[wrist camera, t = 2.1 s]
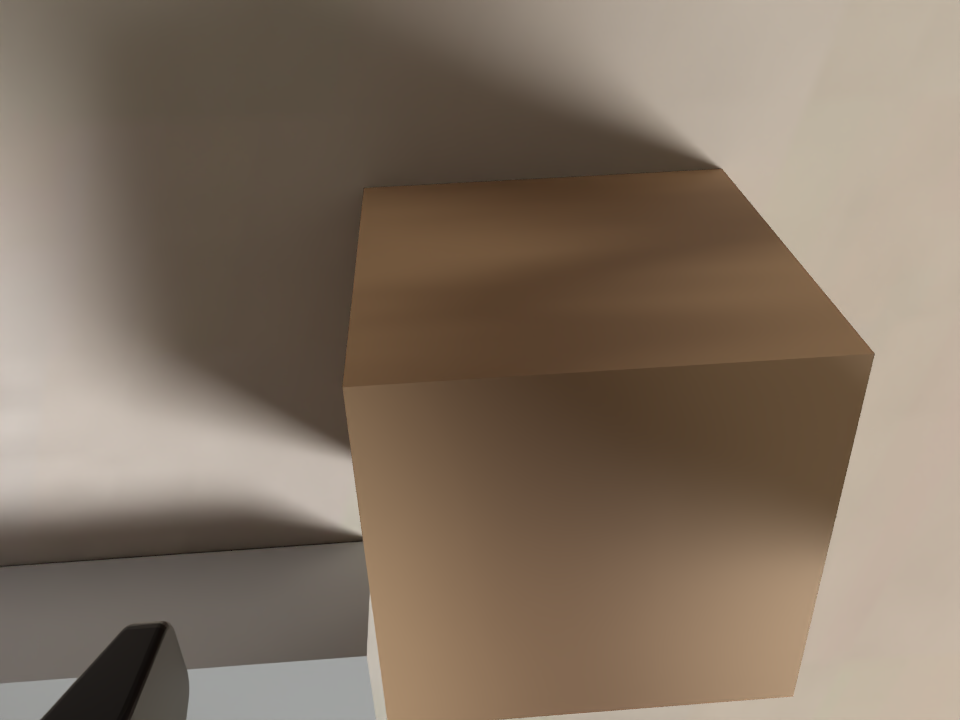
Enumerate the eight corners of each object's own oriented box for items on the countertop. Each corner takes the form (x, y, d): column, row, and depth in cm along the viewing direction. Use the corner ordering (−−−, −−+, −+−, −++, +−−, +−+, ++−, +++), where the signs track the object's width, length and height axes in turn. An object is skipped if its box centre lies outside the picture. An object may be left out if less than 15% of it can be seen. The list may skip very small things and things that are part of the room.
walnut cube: (720, 166, 13) (873, 353, 9) (687, 448, 15) (792, 696, 11) (364, 185, 13) (343, 387, 8) (393, 467, 15) (388, 728, 11)
